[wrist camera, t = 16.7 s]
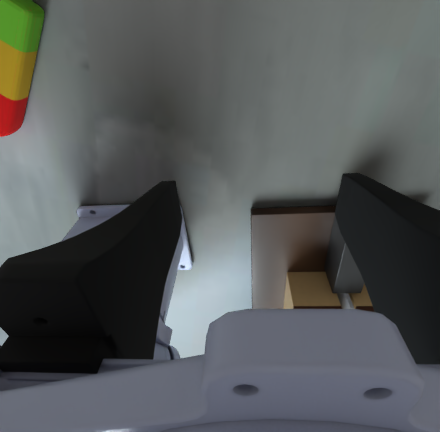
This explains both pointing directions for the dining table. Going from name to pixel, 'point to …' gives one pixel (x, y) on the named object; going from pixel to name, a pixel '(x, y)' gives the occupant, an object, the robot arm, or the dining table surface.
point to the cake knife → (342, 269)
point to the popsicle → (17, 59)
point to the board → (286, 248)
